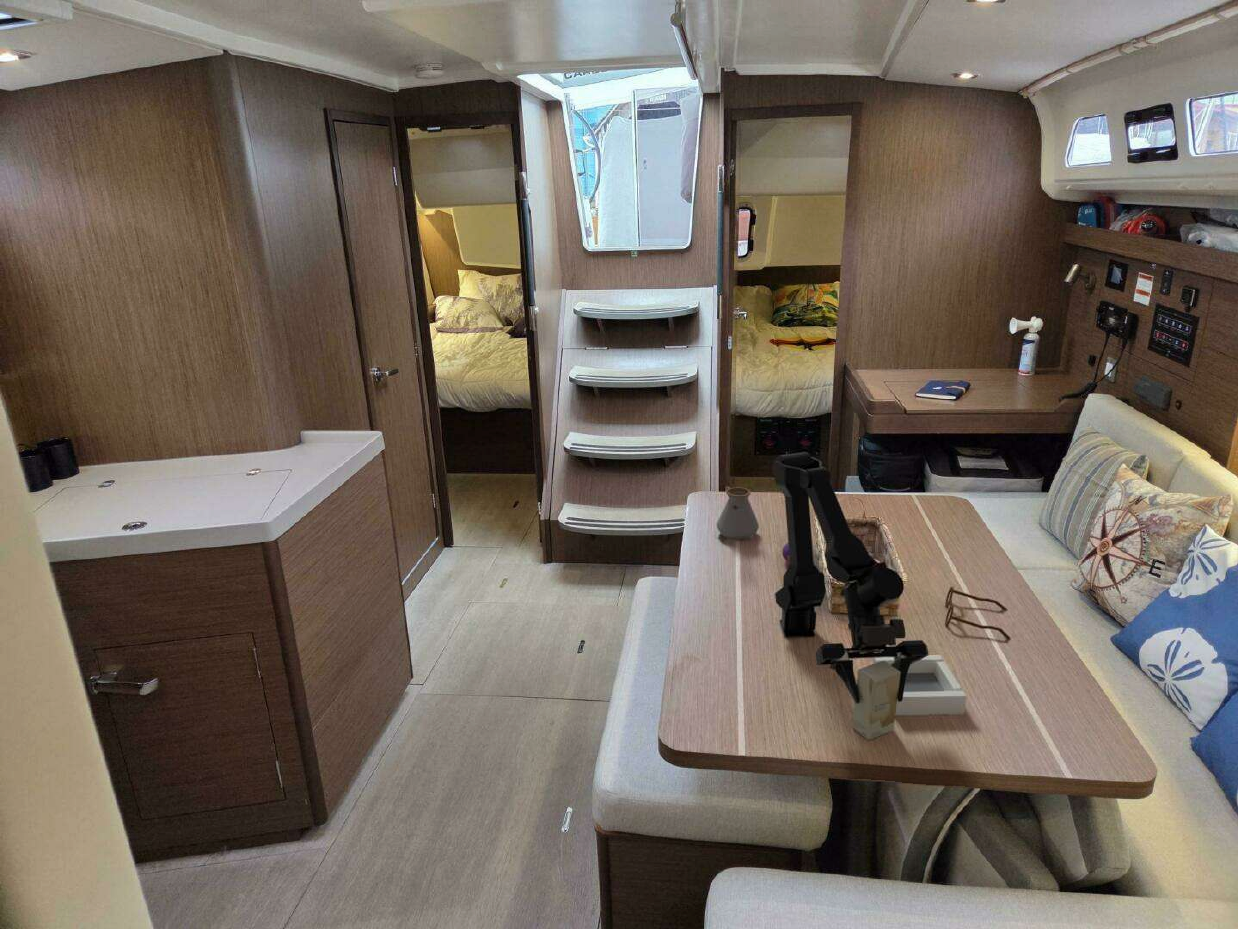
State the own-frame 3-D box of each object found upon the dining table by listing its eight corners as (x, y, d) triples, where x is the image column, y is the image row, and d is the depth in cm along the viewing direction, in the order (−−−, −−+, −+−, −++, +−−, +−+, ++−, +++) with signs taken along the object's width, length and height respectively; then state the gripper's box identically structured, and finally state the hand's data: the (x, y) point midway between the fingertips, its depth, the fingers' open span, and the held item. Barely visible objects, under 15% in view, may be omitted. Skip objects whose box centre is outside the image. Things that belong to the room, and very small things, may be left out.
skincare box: (868, 741, 140) (874, 682, 136) (850, 727, 144) (856, 669, 140) (895, 729, 143) (902, 671, 139) (877, 716, 146) (883, 659, 142)
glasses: (944, 601, 185) (947, 582, 183) (1007, 611, 180) (1010, 591, 179) (944, 631, 173) (947, 610, 172) (1011, 641, 169) (1014, 621, 167)
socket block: (892, 715, 147) (894, 697, 145) (871, 673, 159) (873, 656, 157) (963, 714, 146) (966, 696, 145) (937, 672, 159) (940, 655, 157)
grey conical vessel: (718, 524, 226) (719, 475, 221) (759, 527, 224) (761, 477, 219) (710, 558, 207) (711, 505, 202) (755, 562, 205) (757, 508, 199)
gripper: (823, 604, 139) (837, 697, 132) (930, 600, 139) (949, 693, 133) (809, 620, 149) (821, 707, 142) (909, 616, 149) (926, 703, 143)
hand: (879, 702), depth 140 cm, fingers closed on skincare box, 7 cm apart
